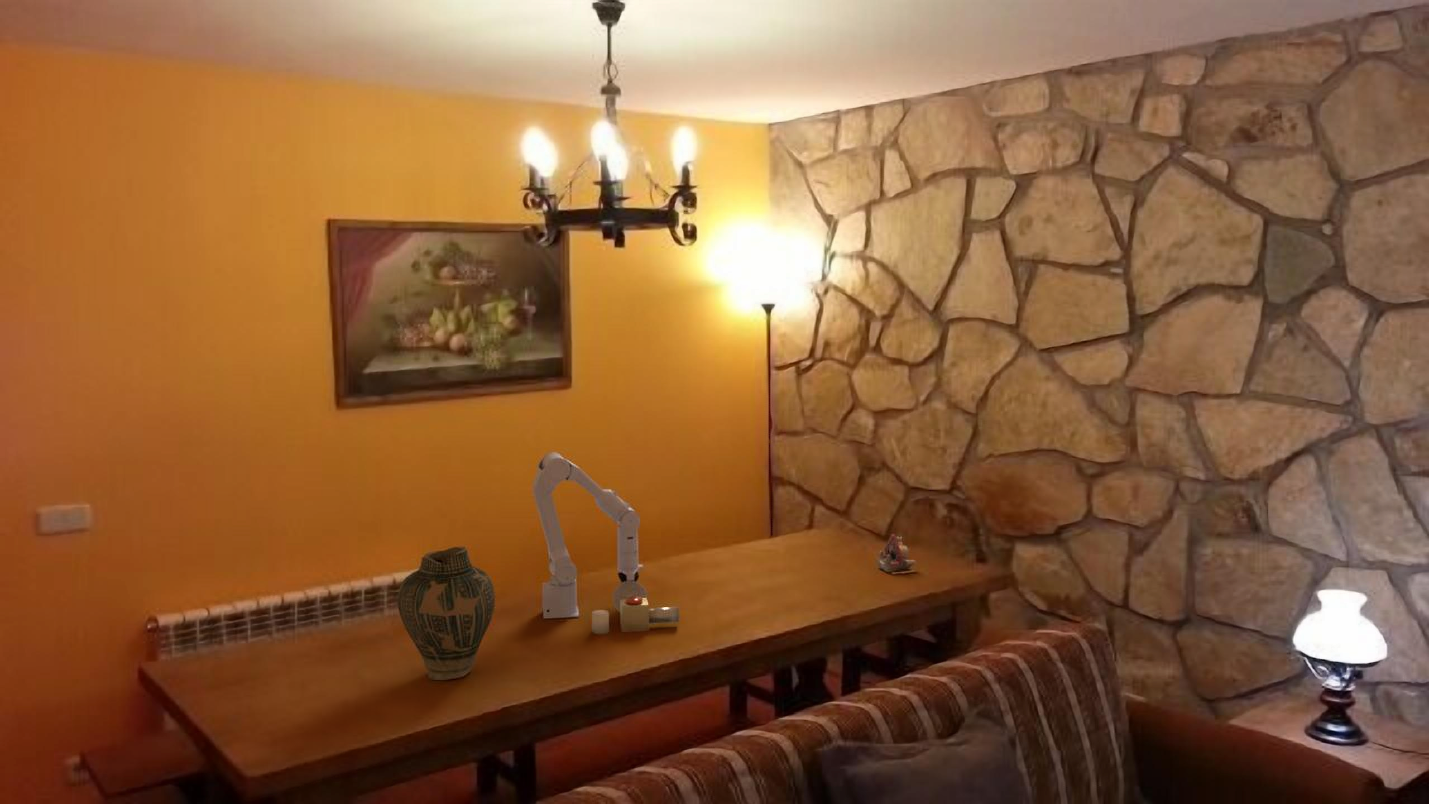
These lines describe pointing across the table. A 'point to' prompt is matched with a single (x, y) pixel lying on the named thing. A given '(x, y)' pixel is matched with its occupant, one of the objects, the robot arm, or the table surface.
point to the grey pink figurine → (895, 557)
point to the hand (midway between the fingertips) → (628, 598)
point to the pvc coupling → (600, 621)
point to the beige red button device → (643, 614)
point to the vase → (447, 611)
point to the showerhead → (628, 592)
